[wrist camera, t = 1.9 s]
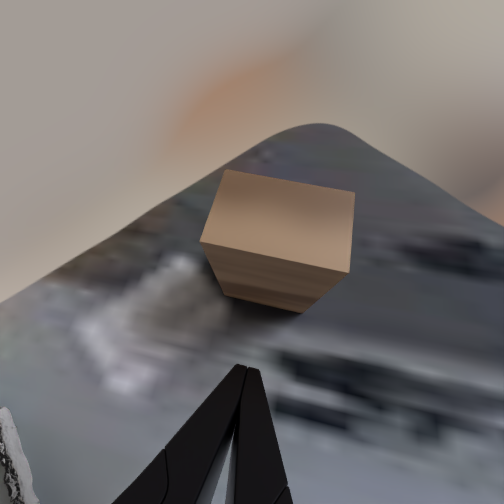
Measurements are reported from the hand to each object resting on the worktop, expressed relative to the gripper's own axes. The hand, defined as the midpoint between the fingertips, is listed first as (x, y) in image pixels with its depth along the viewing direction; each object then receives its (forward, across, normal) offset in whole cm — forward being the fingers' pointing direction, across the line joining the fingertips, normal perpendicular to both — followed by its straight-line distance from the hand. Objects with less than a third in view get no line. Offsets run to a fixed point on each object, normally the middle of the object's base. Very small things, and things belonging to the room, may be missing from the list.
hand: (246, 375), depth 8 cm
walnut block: (+13, 0, +3) cm, 14 cm away
